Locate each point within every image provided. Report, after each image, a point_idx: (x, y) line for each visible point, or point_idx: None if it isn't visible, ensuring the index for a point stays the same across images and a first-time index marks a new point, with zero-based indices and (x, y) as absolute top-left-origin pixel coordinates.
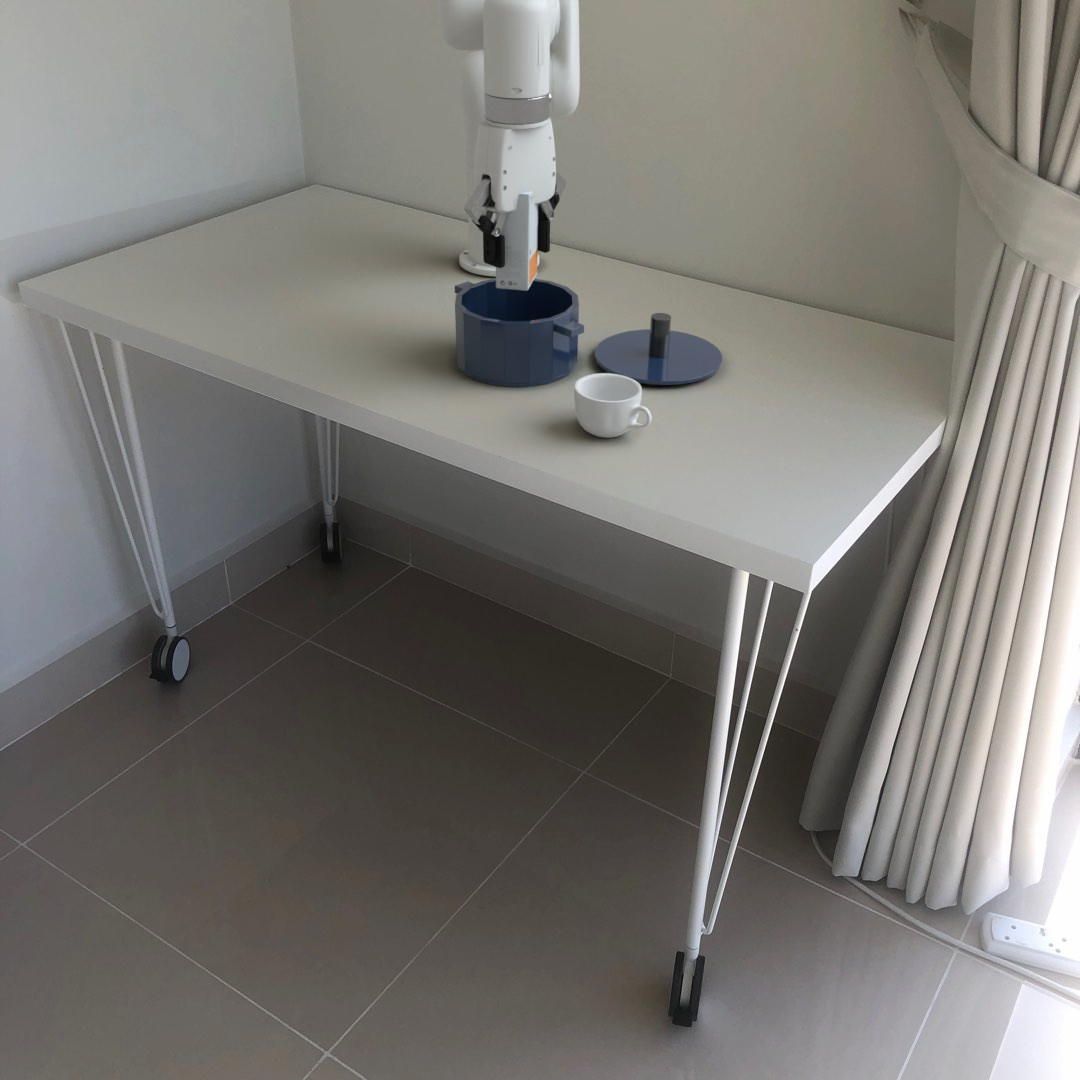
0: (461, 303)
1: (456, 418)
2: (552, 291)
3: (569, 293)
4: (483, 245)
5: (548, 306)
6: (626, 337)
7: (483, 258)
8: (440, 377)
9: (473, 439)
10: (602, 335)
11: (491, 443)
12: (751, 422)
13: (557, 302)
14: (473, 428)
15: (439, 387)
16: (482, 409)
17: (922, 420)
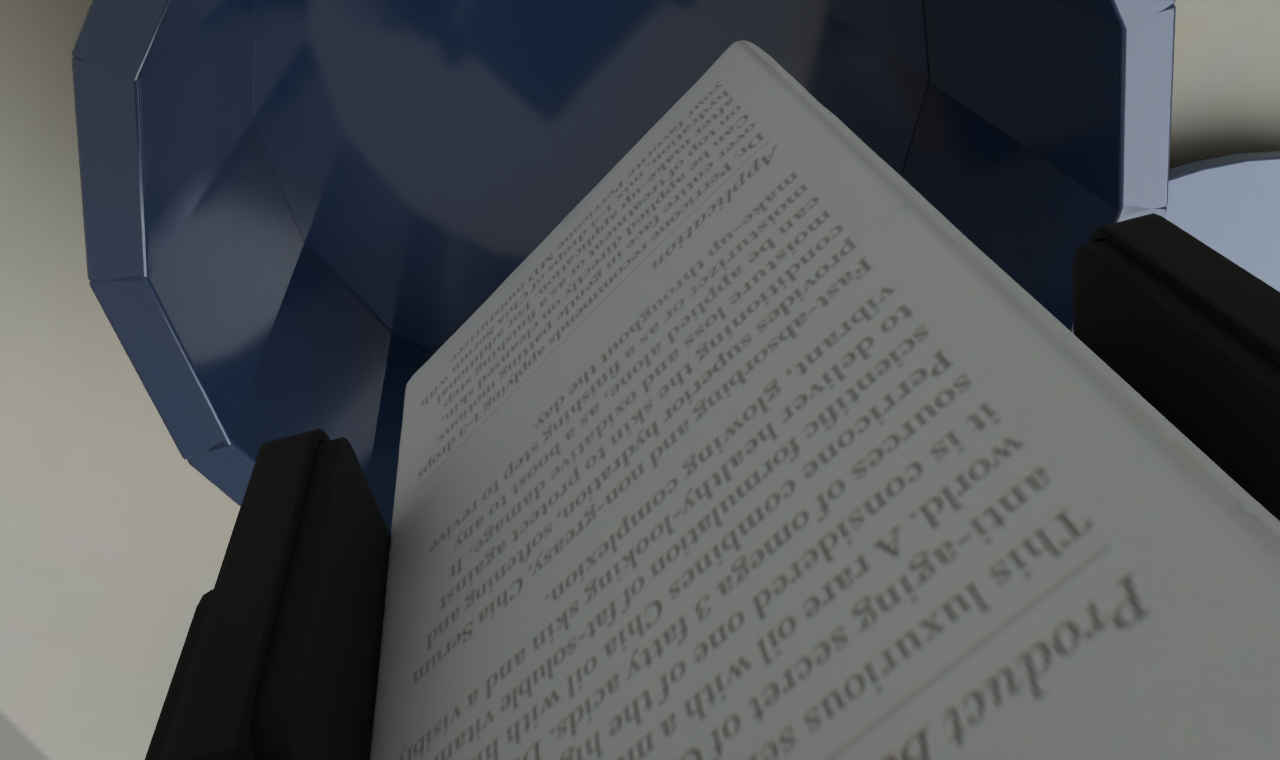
0: (152, 50)
1: (4, 517)
2: (1088, 79)
3: (1073, 328)
4: (163, 705)
5: (1020, 7)
6: (1247, 226)
7: (259, 455)
8: (54, 56)
9: (26, 688)
10: (1241, 26)
11: (93, 734)
12: None
13: (1050, 117)
14: (57, 618)
15: (8, 180)
16: (163, 492)
17: None
